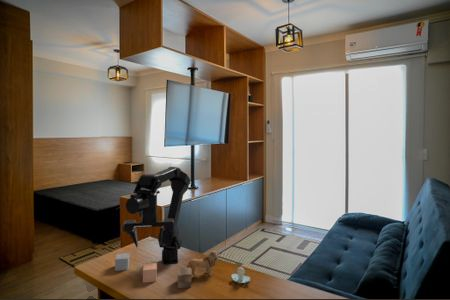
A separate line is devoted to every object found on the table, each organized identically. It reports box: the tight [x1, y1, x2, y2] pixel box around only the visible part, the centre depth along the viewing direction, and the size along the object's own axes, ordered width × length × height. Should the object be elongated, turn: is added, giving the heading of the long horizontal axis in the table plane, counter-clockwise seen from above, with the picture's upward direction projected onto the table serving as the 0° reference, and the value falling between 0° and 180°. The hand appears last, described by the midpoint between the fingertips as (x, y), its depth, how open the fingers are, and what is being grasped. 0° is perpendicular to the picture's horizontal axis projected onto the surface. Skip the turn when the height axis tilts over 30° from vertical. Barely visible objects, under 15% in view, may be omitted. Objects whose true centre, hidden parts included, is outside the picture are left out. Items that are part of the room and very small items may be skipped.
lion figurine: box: [186, 250, 219, 278], centre depth 110 cm, size 15×5×9 cm, turn 111°
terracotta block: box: [142, 262, 158, 283], centre depth 107 cm, size 5×5×5 cm
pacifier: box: [231, 266, 251, 284], centre depth 106 cm, size 7×6×6 cm
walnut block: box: [176, 267, 193, 289], centre depth 104 cm, size 5×5×5 cm
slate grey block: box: [114, 252, 130, 272], centre depth 115 cm, size 5×5×5 cm
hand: (149, 246), depth 106 cm, fingers open, 9 cm apart
